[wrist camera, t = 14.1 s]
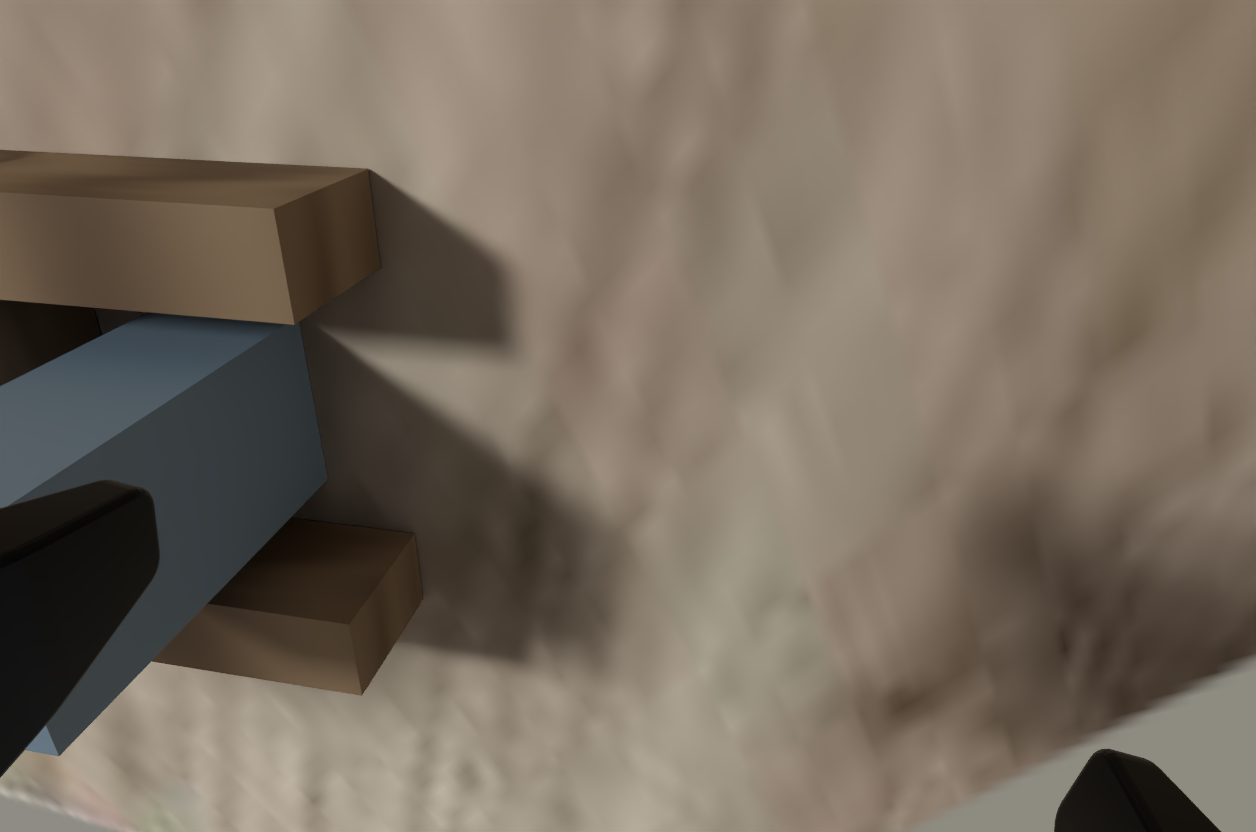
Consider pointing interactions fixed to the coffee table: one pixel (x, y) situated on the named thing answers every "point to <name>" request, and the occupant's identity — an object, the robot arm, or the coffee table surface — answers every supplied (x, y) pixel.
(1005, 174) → the coffee table surface
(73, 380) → the rectangular block
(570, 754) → the coffee table surface
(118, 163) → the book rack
